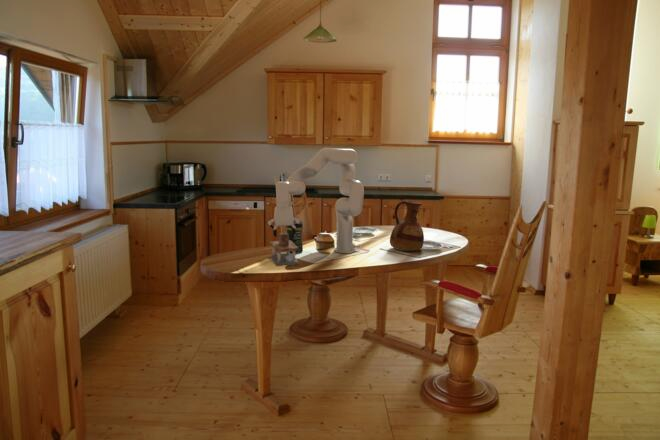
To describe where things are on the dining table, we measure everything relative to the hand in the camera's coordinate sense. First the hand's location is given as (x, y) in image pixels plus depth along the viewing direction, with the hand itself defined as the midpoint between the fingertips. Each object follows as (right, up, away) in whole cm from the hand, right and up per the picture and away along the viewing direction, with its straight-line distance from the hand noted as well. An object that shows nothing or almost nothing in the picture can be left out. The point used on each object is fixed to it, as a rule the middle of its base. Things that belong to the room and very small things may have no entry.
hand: (284, 236), depth 282 cm
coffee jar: (+4, -10, +22) cm, 25 cm away
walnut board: (0, -6, +1) cm, 6 cm away
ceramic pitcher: (+70, -9, +30) cm, 77 cm away
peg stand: (0, -14, +2) cm, 14 cm away
